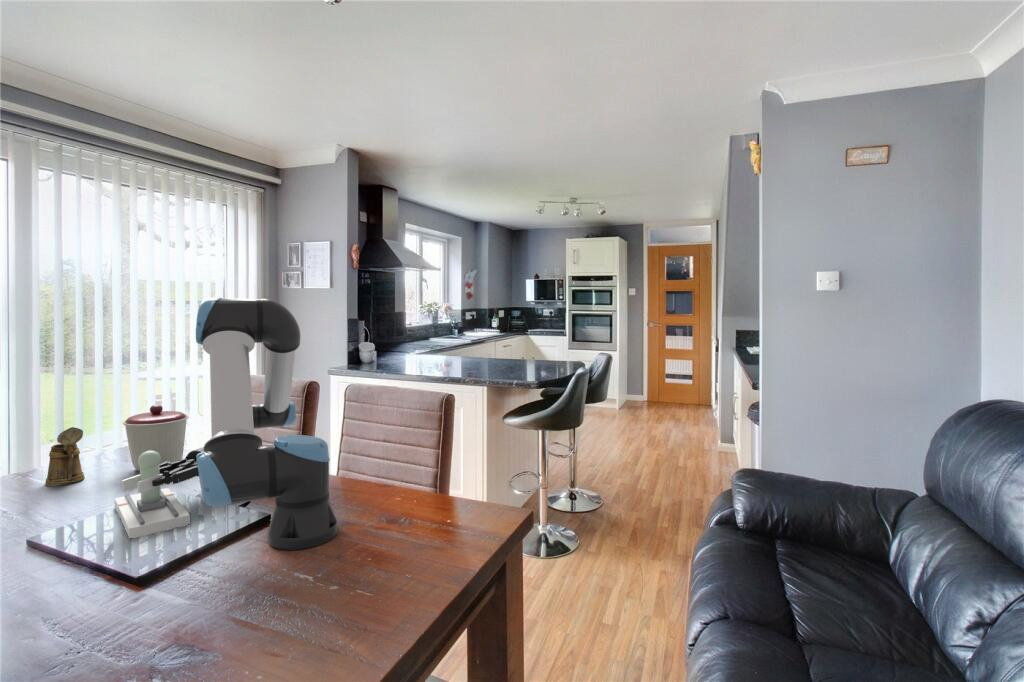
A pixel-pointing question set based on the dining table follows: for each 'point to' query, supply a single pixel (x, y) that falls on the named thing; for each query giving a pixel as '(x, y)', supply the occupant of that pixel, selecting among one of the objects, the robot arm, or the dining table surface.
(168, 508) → the fader console
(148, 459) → the fader knob
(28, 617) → the dining table surface
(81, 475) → the wooden mug
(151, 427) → the canister
